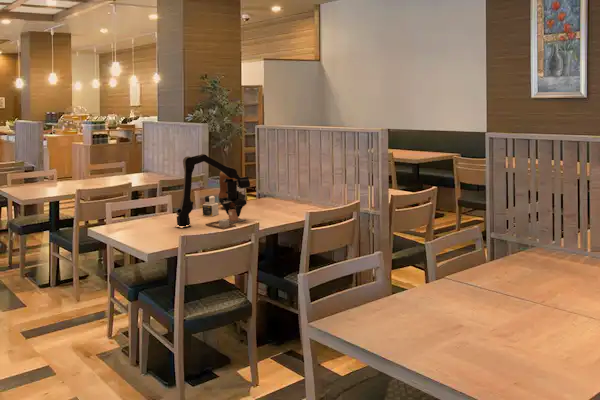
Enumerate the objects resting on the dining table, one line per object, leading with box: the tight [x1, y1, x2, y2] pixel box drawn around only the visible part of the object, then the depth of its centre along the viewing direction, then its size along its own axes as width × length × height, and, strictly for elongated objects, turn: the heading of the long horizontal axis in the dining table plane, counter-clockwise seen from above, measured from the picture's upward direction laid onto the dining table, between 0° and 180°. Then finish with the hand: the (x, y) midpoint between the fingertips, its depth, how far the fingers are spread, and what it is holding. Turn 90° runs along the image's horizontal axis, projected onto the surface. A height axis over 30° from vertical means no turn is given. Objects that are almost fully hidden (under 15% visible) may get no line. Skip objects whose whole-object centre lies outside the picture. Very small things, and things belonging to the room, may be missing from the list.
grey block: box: [218, 218, 229, 227], centre depth 336 cm, size 4×4×4 cm
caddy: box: [205, 220, 237, 230], centre depth 338 cm, size 9×17×1 cm, turn 45°
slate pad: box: [227, 217, 247, 224], centre depth 350 cm, size 10×10×1 cm
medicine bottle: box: [201, 195, 220, 217], centre depth 370 cm, size 7×7×12 cm
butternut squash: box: [218, 171, 237, 209], centre depth 390 cm, size 14×13×25 cm
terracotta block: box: [228, 208, 239, 221], centre depth 350 cm, size 4×4×6 cm
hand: (233, 215), depth 350 cm, fingers open, 9 cm apart
